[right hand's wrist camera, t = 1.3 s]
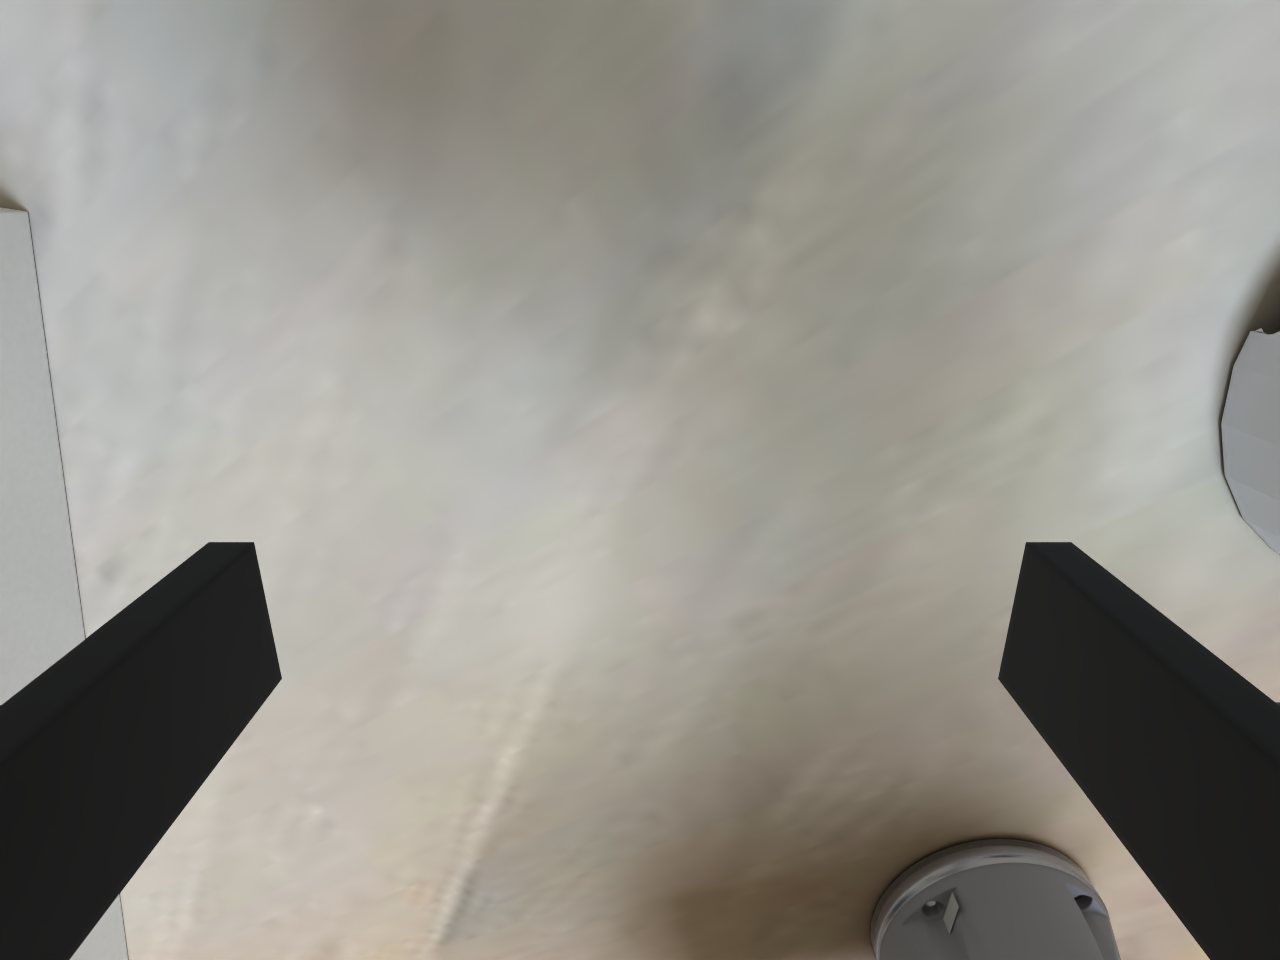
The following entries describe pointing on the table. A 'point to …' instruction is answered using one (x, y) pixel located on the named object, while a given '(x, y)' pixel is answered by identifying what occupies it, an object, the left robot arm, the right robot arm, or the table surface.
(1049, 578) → the right robot arm
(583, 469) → the table surface
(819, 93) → the table surface
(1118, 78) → the table surface
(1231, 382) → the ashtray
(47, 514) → the bar
